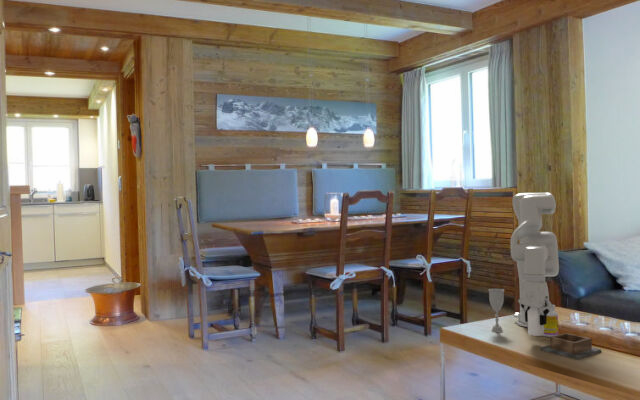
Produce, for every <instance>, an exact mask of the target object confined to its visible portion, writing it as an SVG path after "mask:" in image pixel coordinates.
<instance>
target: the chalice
mask: <svg viewBox="0 0 640 400" xmlns="http://www.w3.org/2000/svg"><path fill="white" fill-rule="evenodd" d="M487 291H488V292H489V293H488V298H489V304H490V306H491V308H492V310H493V311H495V314H494V316H495V319H494V321H495V324H494V325H493V326H492V328H491V330H490V331H491V332H492V333H503V332H504V329H503V328H502V326H501V325H499V321H500V319H499V312H500V311H501V309H502V308H503V304H504V302H505V301H504V300H505V297H504V295H505V294H504V292H505V289H504V288H489V289H487Z"/></svg>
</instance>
